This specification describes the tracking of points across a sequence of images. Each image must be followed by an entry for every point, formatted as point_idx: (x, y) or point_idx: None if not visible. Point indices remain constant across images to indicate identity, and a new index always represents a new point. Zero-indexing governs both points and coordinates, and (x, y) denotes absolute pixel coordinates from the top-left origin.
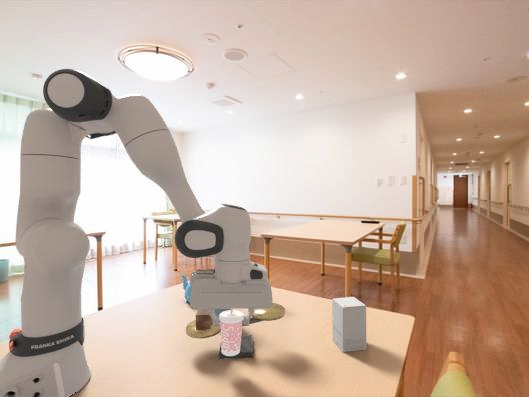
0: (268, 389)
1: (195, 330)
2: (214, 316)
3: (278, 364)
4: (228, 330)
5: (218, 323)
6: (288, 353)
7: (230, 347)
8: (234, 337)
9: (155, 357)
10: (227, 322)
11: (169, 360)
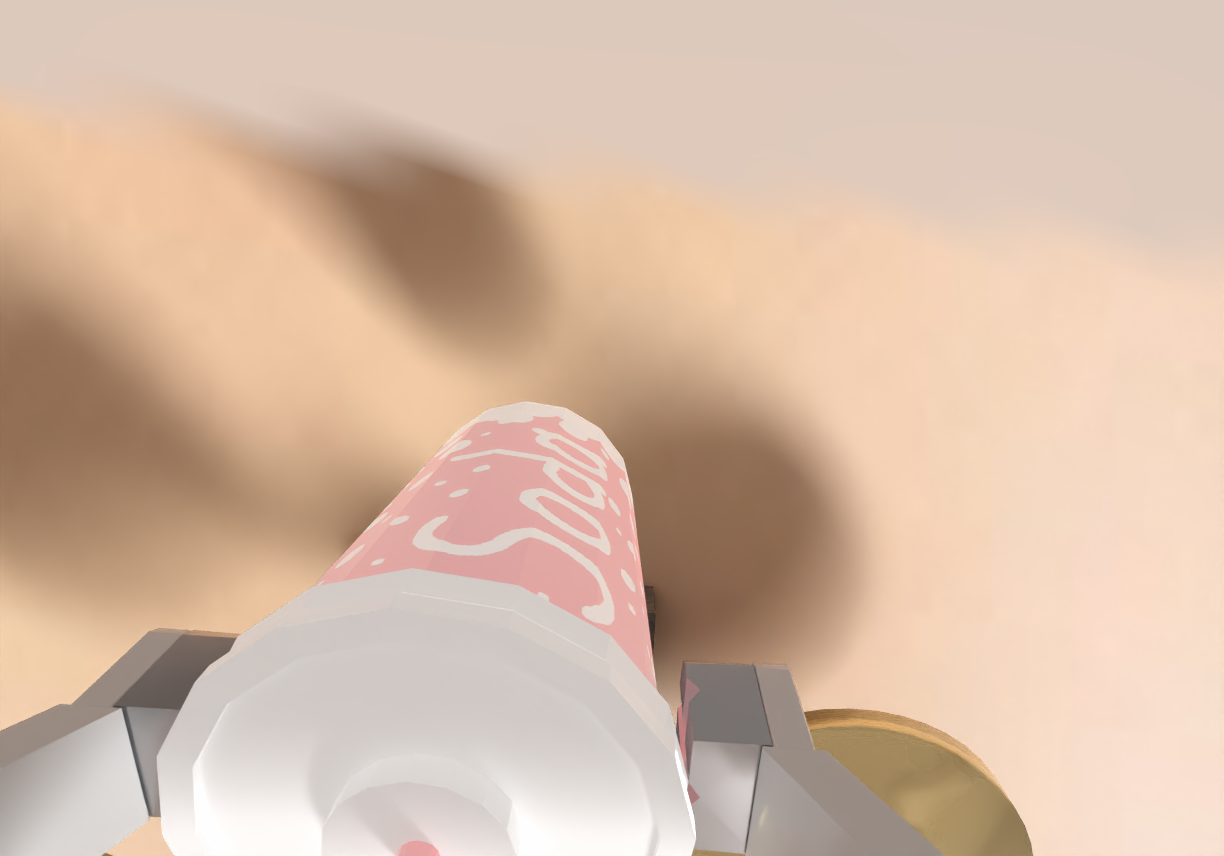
0: (231, 165)
1: (930, 823)
2: (795, 817)
3: (161, 467)
4: (510, 525)
5: (693, 692)
6: (83, 594)
7: (518, 428)
8: (440, 483)
9: (1154, 664)
10: (503, 598)
11: (1046, 617)
